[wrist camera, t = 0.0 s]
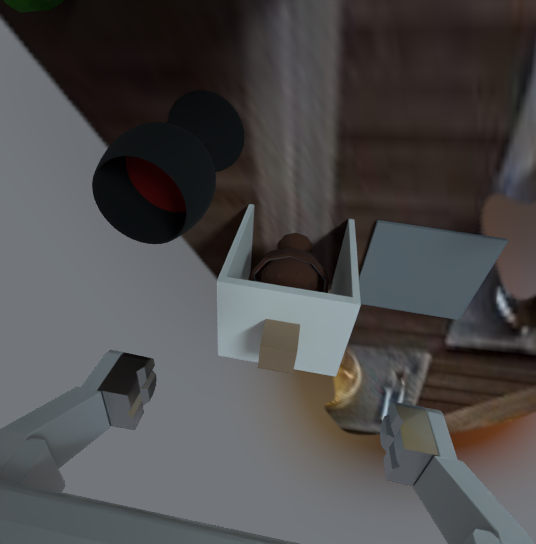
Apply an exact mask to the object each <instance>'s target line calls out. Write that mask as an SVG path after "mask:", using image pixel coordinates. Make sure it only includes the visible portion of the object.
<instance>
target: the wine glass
mask: <svg viewBox="0 0 536 544" xmlns="http://www.w3.org/2000/svg"><path fill="white" fill-rule="evenodd" d="M243 145H244V129H243V125H242V122H241V119H240V117H239V115H238V113H237V112H236V110H235V109H234V108H233V106H232V105H231V104H230V103H229V102H228V101H226V100H225V99H224V98H222V97H221V96H219V95H217V94H215V93H212V92H208V91H193V92H190V93H187V94H185V95H184V96H182V97H180V98H179V99H178V100H177V101H176V102H175V104H174V105H173V107H172V109H171V111H170V114H169V119H168V123H160V122H153V123H147V124H142V125H139V126H137V127H134V128H132V129H130V130H128V131H127V132H125V133H124V134H122V135H121V136H120V137H118V138H117V139H116V140H115V141H114V142H113V143H112V144H111V145H110V146H109V147H108V149H107V150H106V152H105V154H104V155H103V157H102V158H101V160H100V162H99V164H98V166H97V168H96V171H95V174H94V176H93V183H92V188H93V195H94V199H95V201H96V204H97V206H98V208H99V210H100V212H101V213H102V214H103V216H104V217H105V218H106V219H107V221H108V222H109V223H110V224H111V225H112V226H113V227H114V228H115V229H117V230H118V231H119V232H121V233H122V234H124V235H126V236H127V237H130V238H131V239H134V240H137V241H139V242H143V243H148V244H162V243H166V242H169V241H171V240H174V239H175V238H177V237H179V236H180V235H182V234H184V233H185V232H187V231H188V230H189V229H191V228H192V227H193V226H194V225H195V224H196V223H197V222H198V221H199V220H200V219H201V218H202V217H203V215H204V214H205V212H206V211H207V209H208V208H209V206H210V203H211V201H212V199H213V196H214V191H215V185H216V175H215V171H220V170H224V169H226V168H228V167H229V166H231V165H232V164H233V163H234V162H235V161H236V160H237V159H238V157H239V156H240V154H241V151H242V149H243Z"/></svg>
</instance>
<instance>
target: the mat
mask: <svg viewBox="0 0 536 544" xmlns="http://www.w3.org/2000/svg"><path fill="white" fill-rule="evenodd" d="M507 242H508V240H507V239H504V238H497V237H490V236H483V235H476V234H470V233H463V232H456V231H449V230H442V229H435V228H429V227H422V226H415V225H408V224H401V223H394V222H388V221H381V220H377V223H376V226H375V229H374V232H373V235H372V238H371V241H370V244H369V247H368V251H367V254H366V257H365V260H364V263H363V266H362V269H361V272H360V275H359V289H360V302H361V304H365V305H371V306H377V307H383V308H389V309H396V310H402V311H408V312H414V313H420V314H426V315H432V316H438V317H444V318H450V319H457V320H459V319H460V317H461V316H462V314H463V313H464V311H465V309H466V308H467V306H468V305H469V303H470V301H471V300H472V298H473V297H474V295H475V293H476V292H477V290H478V289H479V287H480V285H481V284H482V282H483V281H484V279H485V277H486V276H487V274H488V273H489V271H490V270H491V268H492V266H493V265H494V263H495V262H496V260H497V258H498V257H499V255H500V254H501V252H502V250H503V249H504V247H505V246H506V244H507Z"/></svg>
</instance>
